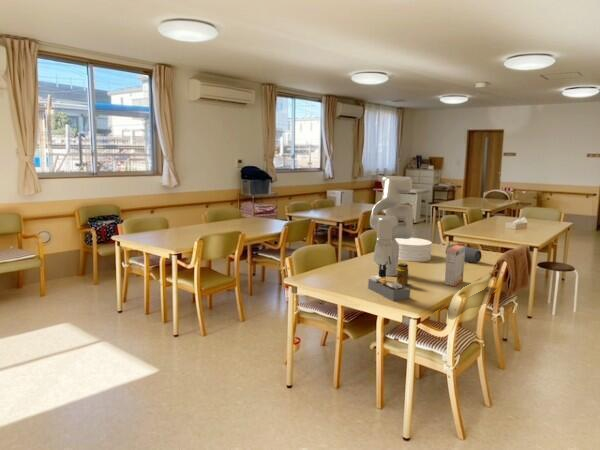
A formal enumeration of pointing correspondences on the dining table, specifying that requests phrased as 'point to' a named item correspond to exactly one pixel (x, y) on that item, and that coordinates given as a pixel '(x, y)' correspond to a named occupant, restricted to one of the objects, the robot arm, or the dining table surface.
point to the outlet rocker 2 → (385, 280)
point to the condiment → (402, 274)
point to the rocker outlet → (394, 285)
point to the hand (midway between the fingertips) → (382, 276)
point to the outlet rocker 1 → (377, 278)
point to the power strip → (389, 291)
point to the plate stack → (414, 249)
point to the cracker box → (454, 265)
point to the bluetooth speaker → (469, 254)
